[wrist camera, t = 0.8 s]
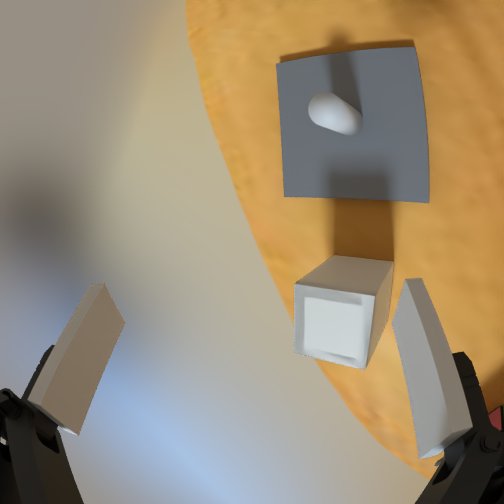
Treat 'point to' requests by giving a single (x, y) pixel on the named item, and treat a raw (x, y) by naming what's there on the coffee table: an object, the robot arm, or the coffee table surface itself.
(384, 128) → the post dock
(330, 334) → the white rectangular box
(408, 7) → the coffee table surface
